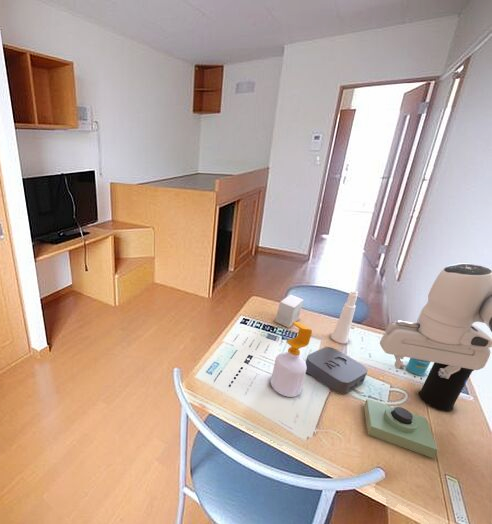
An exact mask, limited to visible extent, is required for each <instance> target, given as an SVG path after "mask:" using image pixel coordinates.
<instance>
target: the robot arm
mask: <svg viewBox="0 0 492 524" xmlns="http://www.w3.org/2000/svg"><path fill="white" fill-rule="evenodd" d="M474 323H483V324H485V325H486V326H487V327H488V329H489V330H490V332H491V333H492V269H490V268H488V267H487V266H486V267H485V266H482V265H479V264H473V263H455V264H451V265H447V266H445V267H444V268H443V269H441V271H440V272H439V273H438V275H437V276H436V278H435V280H434V281H433V283H432V285H431V288H430V290H429V292H428V295H427V302H426V304H425V305H424V306H423V307H422V309H421V311H420V314H419V315H418V318H417V320H416V322H411V321H403V320H395V321H391V322H388V324H387V326H386V329H385V332H384V333H383V335H382V337H381V339H380V340H379V345H380V347H381V349H382V350H383V352H384V353H385V354H388V355H392V356H394V359H395V361H394V364H393V365H394V367H395V369H397V370H402V371H404V370H405V368H406V367H407V365H406V364H405V362H404V358H409V359H410V358H414V359H419V360H425V361H430V363H434V362H435V363H441V364H446V365H449V366H447V367H446V368H444V369H442V368H440V369H439V371H438V375H439V376H440V377H442V378H446V379H449V377H450V375H451V374H453V373H455V372H457V371H459V370H460V369H461V367H462V368H467V369H473V370H474V371H480V370H481V369H484V368H485V366H486V364H487V363H488V361H489V358H490V356H491V348H492V338H491V336H489V335H488V334H487V333H486V332H485V331H483V329H481V328H479V327H478V326H476V325H475V324H474Z"/></svg>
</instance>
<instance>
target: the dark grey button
mask: <svg viewBox="0 0 492 524" xmlns="http://www.w3.org/2000/svg"><path fill="white" fill-rule="evenodd" d="M394 407H395V408H394V410H393V413H392V416H393V417H394V419H396V420H397V421H399V422H400V423H403V424H410V422H411V420H412V418H413V416H412V414H411V413H412V412H411V411H409V410H407V408H404V407H401V406H394Z"/></svg>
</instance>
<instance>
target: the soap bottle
mask: <svg viewBox="0 0 492 524" xmlns="http://www.w3.org/2000/svg"><path fill="white" fill-rule="evenodd" d="M292 323H293V324H292V325H294V326H296V327H297V328H298V331H297V332H298V333H297V335H296V337H293V338H288V339H286V341H285V342H286V344H287V345H289V347H288V349H287V351H285V352H281V353H279V354H278V355H277V356H276V357H275V359H274V360H275V361H274V365H273V369H272V373H271V378H270V385H271V387H272V389H273V390H274V391H275V392H276V393H278V394H280V395H282V396H283V397H288V398H295V397H297V396H299V395H300V393H301V391H302V388H303V385H304V381H305V377H306V373H307V372H306V369H307V366H306V361H305V360H304V359H303V358H302V357H301V356H300V353H301V350H300V349H302V348H305V347H307V346H308V345H309V343H310V341H311V337H312V333H313V331H312V329H311V328H309V327H308V326H306V325H305V324H304V323H302V322H300V321H296V322H292Z"/></svg>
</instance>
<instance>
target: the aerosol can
mask: <svg viewBox="0 0 492 524" xmlns="http://www.w3.org/2000/svg"><path fill="white" fill-rule="evenodd" d="M447 366H449V365H446V364H441V363H435V362H433V364H432V366H431V368H430V370H429V371H428V375H427V376H426V379H425V381H424V383H423V385H422V387H421V389H420V390H419V391H418V393H417V395H418V397H419V399H420V400H421V401H422V402H423V403H424V404H425V405H427V406H429V407H431V408H433V409H435V410H438V411H441V412H452V411H453V410H454V406H455V403H456V402H457V400H458V398H459V397H460V395H461V392H462V391H463V389H464V388H465V386H466V383H467V382H468V381H469V379H470V377H471V375H472V373H473V372H474V371H475V370H473V369H467V368H462V367H461V369H460V370H459V371H457V372H455V373H453V374H451V375H450V377H449V379H446V378H442V377H440V376H439V375H438V371H439V369H440V368H442V369H444V368H446V367H447Z"/></svg>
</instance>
